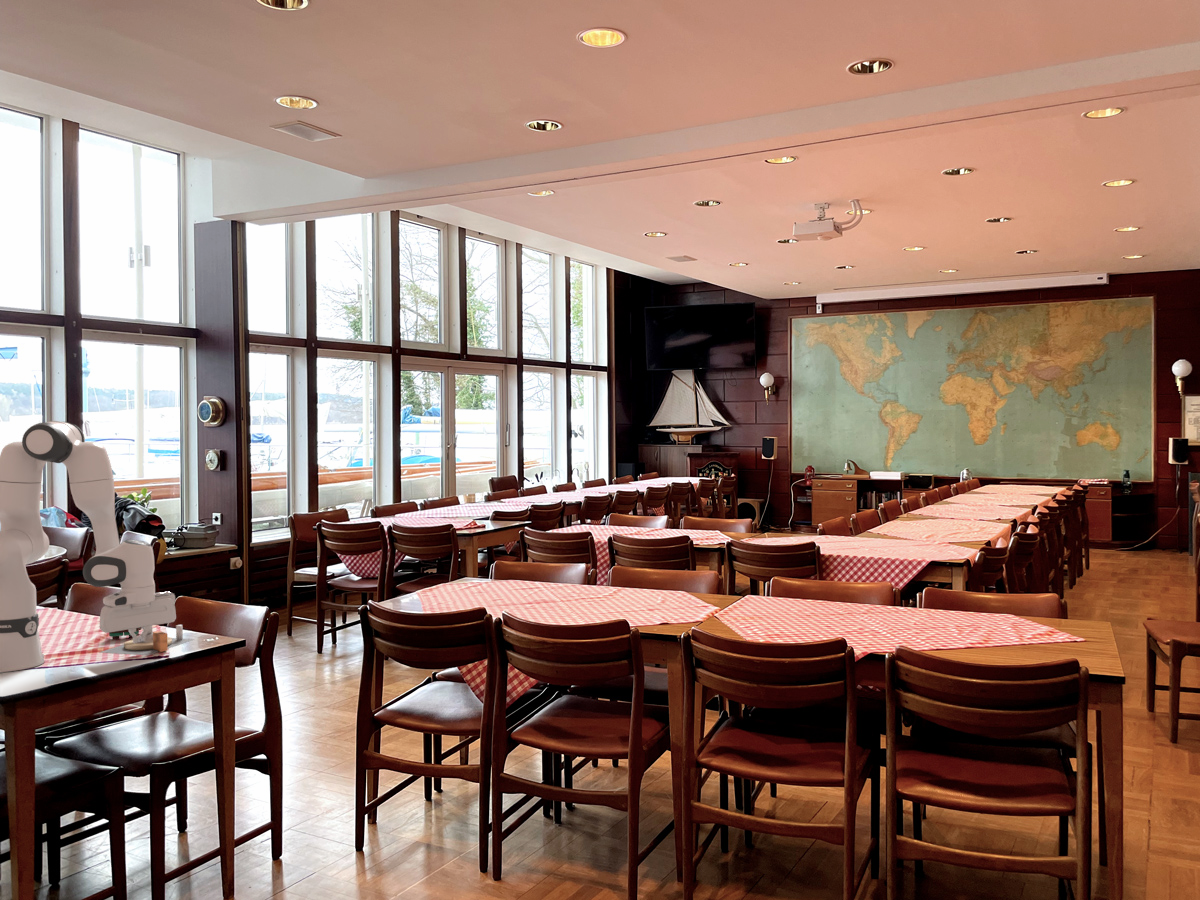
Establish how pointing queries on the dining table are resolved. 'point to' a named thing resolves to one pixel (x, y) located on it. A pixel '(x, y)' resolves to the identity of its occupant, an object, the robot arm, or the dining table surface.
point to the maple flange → (151, 642)
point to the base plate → (175, 642)
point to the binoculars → (116, 634)
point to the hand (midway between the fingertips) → (139, 642)
